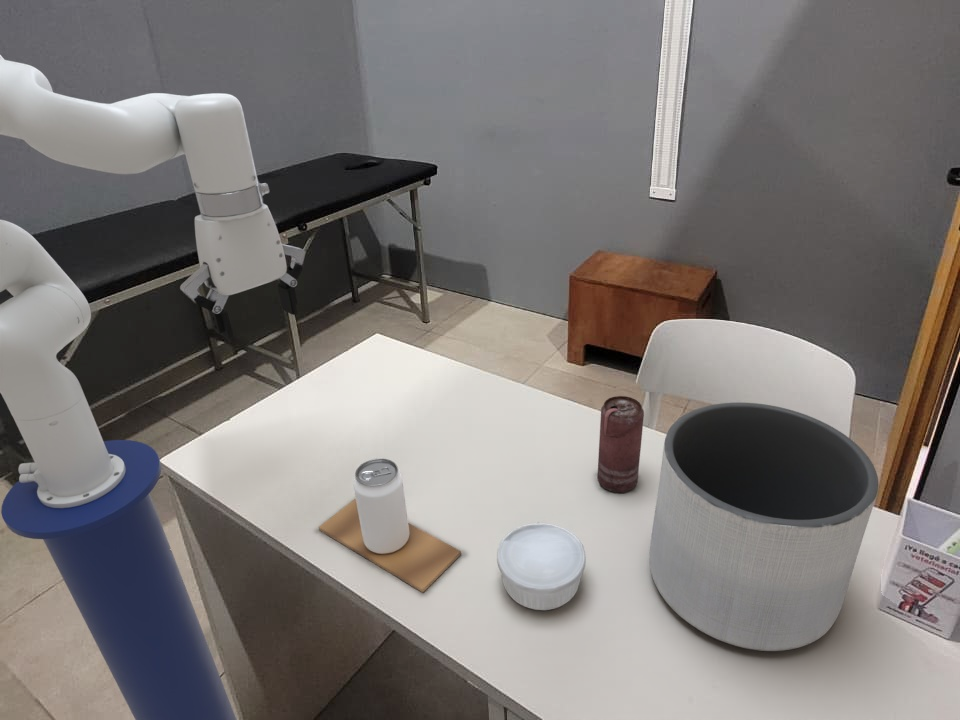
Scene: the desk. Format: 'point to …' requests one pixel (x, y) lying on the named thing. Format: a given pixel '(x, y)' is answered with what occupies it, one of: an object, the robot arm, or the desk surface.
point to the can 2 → (620, 443)
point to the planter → (759, 523)
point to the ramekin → (541, 565)
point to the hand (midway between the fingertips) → (259, 323)
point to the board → (410, 563)
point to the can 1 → (381, 506)
